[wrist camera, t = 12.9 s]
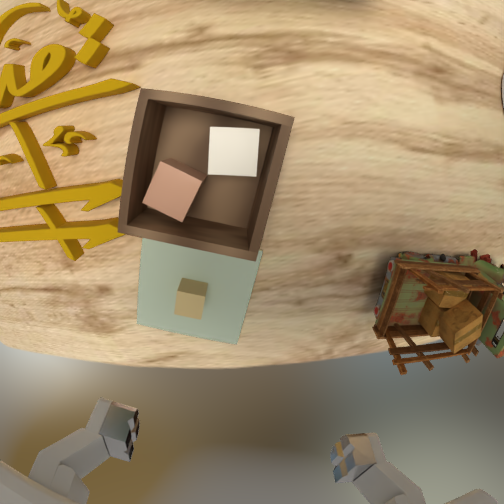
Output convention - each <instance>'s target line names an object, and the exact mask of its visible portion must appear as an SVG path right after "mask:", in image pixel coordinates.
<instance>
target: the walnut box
mask: <svg viewBox="0 0 504 504" xmlns="http://www.w3.org/2000/svg"><path fill="white" fill-rule="evenodd" d="M293 121H294V117H291V116H288V115H284V114H281V113H277V112H273V111H269V110H265V109H261V108H257V107H253V106H248V105H244V104H239V103H235V102H230V101H225V100H220V99H215V98H209V97H203V96H197V95H191V94H184V93H177V92H170V91H162V90H153V89H143V88H141V90H140V94H139V99H138V103H137V107H136V111H135V116H134V121H133V125H132V130H131V135H130V141H129V146H128V152H127V158H126V164H125V170H124V177H123V185H122V192H121V201H120V210H119V220H118V233H123V234H127V235H132V236H137V237H141V238H146V239H150V240H155V241H160V242H164V243H169V244H174V245H178V246H183V247H188V248H192V249H197V250H202V251H207V252H211V253H216V254H221V255H226V256H230V257H235V258H240V259H245V260H250V261H255V262H256V259H257V256H258V252H259V248H260V245H261V241H262V237H263V234H264V230H265V226H266V222H267V219H268V215H269V211H270V208H271V204H272V200H273V196H274V193H275V189H276V185H277V182H278V178H279V174H280V170H281V167H282V163H283V159H284V155H285V151H286V148H287V144H288V140H289V136H290V133H291V129H292V125H293ZM210 127H232V128H251V129H260V132H259V146H258V160H257V175H256V177H253V176H235V175H209V174H208V159H209V138H210ZM169 158H173V159H175V160H177V161H179V162H181V163H183V164H185V165H187V166H189V167H191V168H193V169H195V170H197V171H199V172H202V173H204V174H206V175H207V177H206V179H205V181H204V183H203V185H202V187H201V189H200V191H199V193H198V195H197V197H196V199H195V201H194V203H193V205H192V207H191V209H190V211H189V213H188V214H187V216H186V217H185V219H184V220H183V222H180V221H178V220H176V219H174V218H172V217H170V216H168V215H166V214H164V213H162V212H160V211H158V210H156V209H154V208H152V207H150V206H148V205H146V204H144V203H142V202H143V200H144V197H145V195H146V192H147V190H148V188H149V185H150V183H151V181H152V179H153V176H154V174H155V172H156V170H157V168H158V165H159V163H160V161H162V160H165V159H169Z"/></svg>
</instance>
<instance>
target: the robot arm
mask: <svg viewBox="0 0 504 504" xmlns="http://www.w3.org/2000/svg"><path fill="white" fill-rule="evenodd" d="M502 98H503V106H504V75H503V80H502ZM138 414H139V413H138V409H137V408H133V407H130V406H127V405H123V404H120V403H117V402H114V401H111V400H108V399H105V398H102V397H100V399H99V400H98V401H97V404H96V406H95V408H94V410H93V412H92V415H91V417H90V419H89V421H88V424H87V426H86V428H85V429H84V428H81V429H79V430H77V431H75V432H74V433H72V434H70V435H69V436H67V437H65V438H63V439H61V440H60V441H58V442H56V443H54V444H52V445H51V446H49V447H47V448H45V449H43V450H42V451H39V454H38V456H37V458H36V460H35V462H34V465H33V467H32V469H31V471H30V474H29V476H28V477H26V476H25V475H23V474H21V473H20V472H18V471H16V470H15V469H13V468H12V467H10V466H8V465H7V464H5V463H4V462H2V461H1V460H0V504H86V503H87V499H88V495H89V490H88V489H87V487H86V486H85V485H84V483H83V482H82V481H81V478H83V477H84V476H86V475H87V474H88V473H89V472H91V471H92V470H93V469H95V468H96V467H97V466H99V465H100V464H101V463H103V462H104V461H105V460H106V459H108V458H109V456H112V457H115V458H118V459H122V460H125V461H129V462H130V460H131V457H132V453H133V450H134V447H133V442H134V441H135V440H137V436H138V432H139V424H140V423H139V419H138V418H137V417H138ZM331 463H333V465H335V468H334V470H333V474H334V479H335V483H343V482H352V483H353V484H354V485H355V486H356V487H357V489H358V490H359V491H360V492H361V493H362V495H363V496H364V497H365V498H366V499H367V500H368V502H369V503H370V504H426V503H425V500H424V497H423V493H422V490H421V488H420V487H418V486H417V485H416V484H415V483H413V482H412V481H411V480H410V479H409V478H408V477H406V476H405V475H404V474H403V473H402V472H401V471H399V470H398V469H397V468H396V467H395V466H394V465H392V464H391V463H390V462H387V461H386V458H385V455H384V452H383V449H382V446H381V443H380V440H379V438H378V435H377V434H376V433H362V434H347V435H343V436H342V437H341V438H340V442H338V443H336V444H335V445H334V446H333V447H332V450H331ZM445 504H498V502H497V501H496V499H495V498H493V497H492V496H491V495H489V494H488V493H486V492H485V491H483V490H481V489H475V490H473V491H471V492H469V493H467V494H465V495H462V496H461V497H458V498H456V499H454V500H452V501H449V502H447V503H445Z"/></svg>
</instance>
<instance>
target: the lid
mask: <svg viewBox="0 0 504 504" xmlns="http://www.w3.org/2000/svg"><path fill="white" fill-rule="evenodd" d="M262 253H263V250H260V249H259V252H258V256H257V259H256V262H255V261H250V260H245V259H240V258H235V257H230V256H226V255H221V254H216V253H211V252H207V251H202V250H197V249H192V248H188V247H183V246H178V245H174V244H169V243H164V242H160V241H155V240H150V239H146V238H143V239H142V249H141V259H140V272H139V287H138V306H137V324H140V325H144V326H148V327H152V328H156V329H161V330H165V331H170V332H174V333H179V334H183V335H188V336H193V337H198V338H203V339H208V340H214V341H219V342H225V343H231V344H237V342H238V339H239V335H240V332H241V328H242V325H243V321H244V318H245V314H246V311H247V307H248V303H249V300H250V296H251V293H252V289H253V285H254V282H255V278H256V275H257V271H258V267H259V264H260V260H261V257H262Z"/></svg>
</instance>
